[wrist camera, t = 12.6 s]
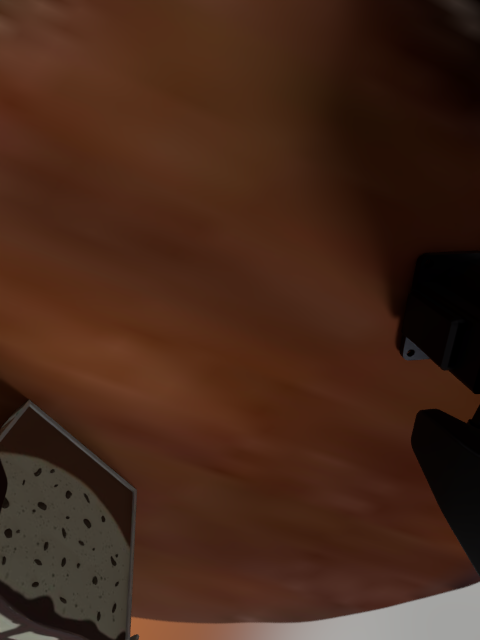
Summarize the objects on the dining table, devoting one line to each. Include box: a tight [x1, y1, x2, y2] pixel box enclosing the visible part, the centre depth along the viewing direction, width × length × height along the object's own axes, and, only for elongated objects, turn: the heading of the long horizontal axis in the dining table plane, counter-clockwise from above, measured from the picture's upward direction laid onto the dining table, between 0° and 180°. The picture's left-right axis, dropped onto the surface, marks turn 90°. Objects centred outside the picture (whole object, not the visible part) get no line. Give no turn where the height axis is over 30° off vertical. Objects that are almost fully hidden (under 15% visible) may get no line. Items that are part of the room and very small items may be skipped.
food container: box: [0, 400, 139, 640], centre depth 20 cm, size 12×6×10 cm, turn 33°
